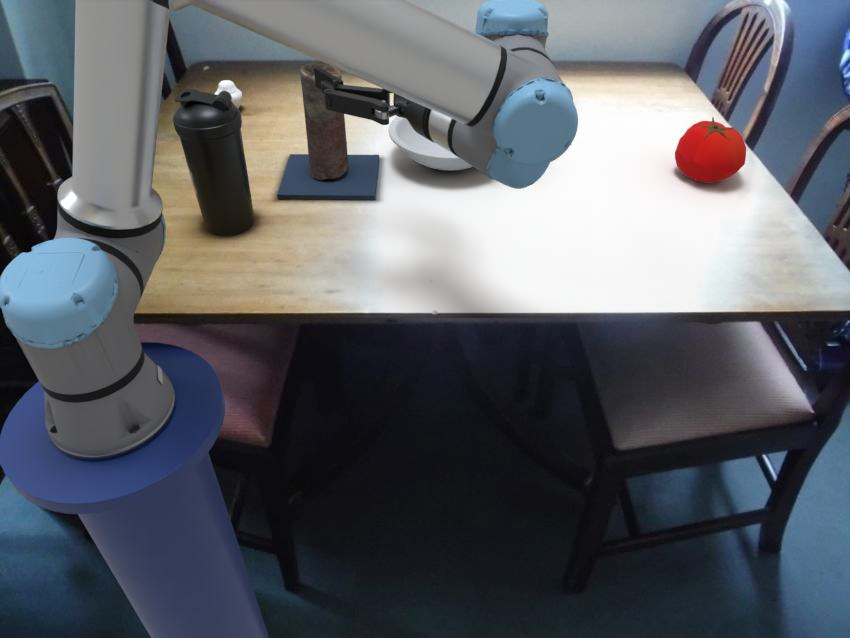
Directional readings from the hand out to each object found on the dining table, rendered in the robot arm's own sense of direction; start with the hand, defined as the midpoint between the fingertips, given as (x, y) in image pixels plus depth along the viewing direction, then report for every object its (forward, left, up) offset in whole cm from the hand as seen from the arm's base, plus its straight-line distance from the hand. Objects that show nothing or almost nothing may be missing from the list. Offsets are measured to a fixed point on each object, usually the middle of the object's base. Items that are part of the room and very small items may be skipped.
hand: (357, 66), depth 97 cm
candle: (-8, +18, -27) cm, 33 cm away
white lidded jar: (-34, +48, -28) cm, 65 cm away
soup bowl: (+15, +25, -28) cm, 41 cm away
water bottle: (-24, +1, -28) cm, 37 cm away
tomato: (+65, +19, -28) cm, 74 cm away
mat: (-8, +17, -28) cm, 34 cm away
